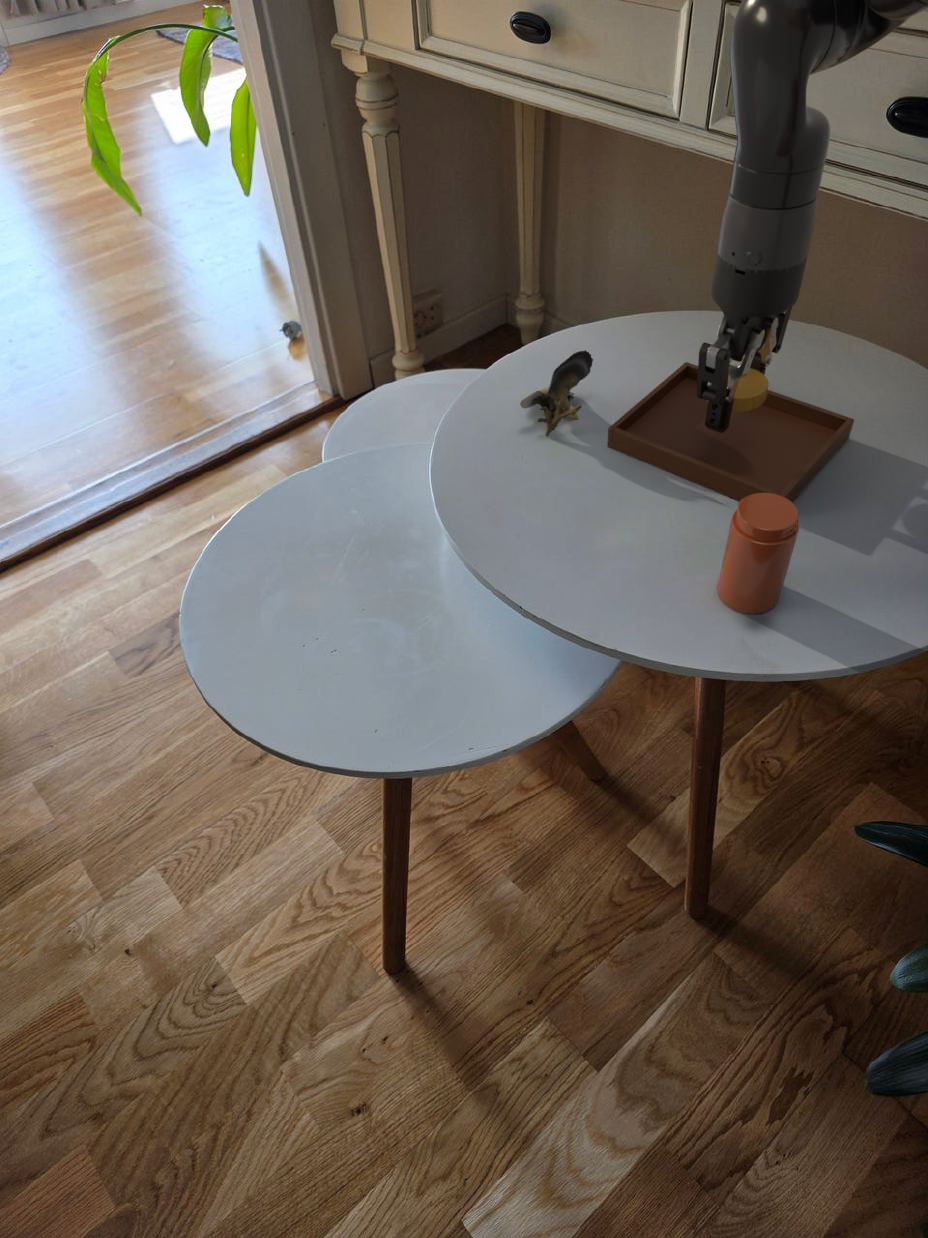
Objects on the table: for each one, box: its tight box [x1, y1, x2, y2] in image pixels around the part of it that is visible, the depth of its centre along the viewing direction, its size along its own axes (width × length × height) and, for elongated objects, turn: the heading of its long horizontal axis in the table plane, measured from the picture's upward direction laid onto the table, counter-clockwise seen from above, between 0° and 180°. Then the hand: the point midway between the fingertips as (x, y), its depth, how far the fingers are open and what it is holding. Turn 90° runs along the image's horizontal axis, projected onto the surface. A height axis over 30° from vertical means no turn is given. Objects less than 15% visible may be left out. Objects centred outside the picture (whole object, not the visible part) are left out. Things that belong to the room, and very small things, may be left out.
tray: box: [606, 361, 855, 503], centre depth 89 cm, size 19×15×2 cm
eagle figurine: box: [519, 350, 594, 437], centre depth 93 cm, size 8×7×9 cm
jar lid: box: [707, 365, 770, 412], centre depth 85 cm, size 6×6×2 cm
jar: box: [716, 493, 800, 615], centre depth 72 cm, size 5×5×9 cm
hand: (732, 412), depth 87 cm, fingers closed on jar lid, 5 cm apart
